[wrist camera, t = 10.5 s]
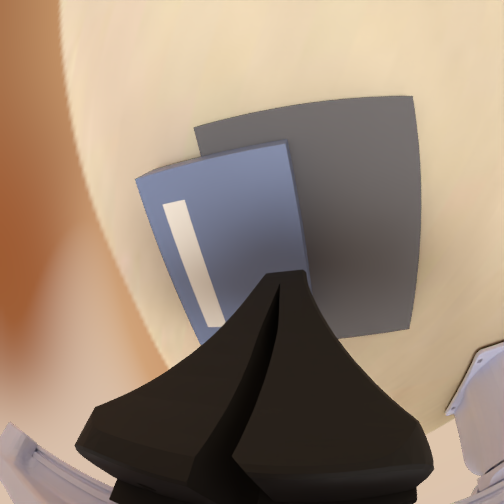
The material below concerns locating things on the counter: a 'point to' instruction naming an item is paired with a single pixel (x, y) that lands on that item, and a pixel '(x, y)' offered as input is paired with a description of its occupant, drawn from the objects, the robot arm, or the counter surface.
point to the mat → (348, 201)
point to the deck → (225, 227)
